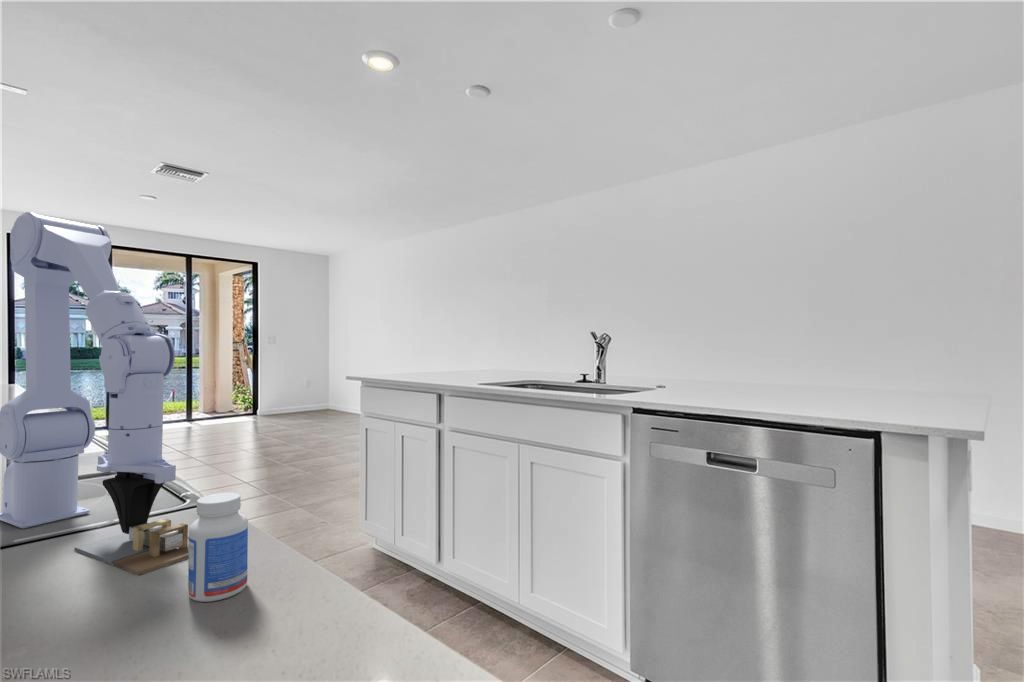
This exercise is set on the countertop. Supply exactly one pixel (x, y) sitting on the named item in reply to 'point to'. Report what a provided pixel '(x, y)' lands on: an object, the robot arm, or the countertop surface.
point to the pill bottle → (217, 549)
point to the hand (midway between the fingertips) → (133, 531)
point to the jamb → (157, 553)
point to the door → (120, 544)
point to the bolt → (166, 540)
